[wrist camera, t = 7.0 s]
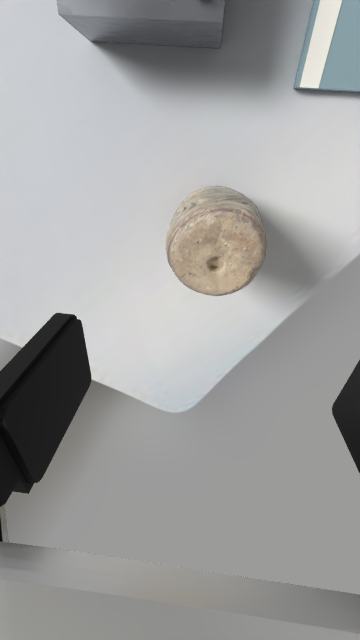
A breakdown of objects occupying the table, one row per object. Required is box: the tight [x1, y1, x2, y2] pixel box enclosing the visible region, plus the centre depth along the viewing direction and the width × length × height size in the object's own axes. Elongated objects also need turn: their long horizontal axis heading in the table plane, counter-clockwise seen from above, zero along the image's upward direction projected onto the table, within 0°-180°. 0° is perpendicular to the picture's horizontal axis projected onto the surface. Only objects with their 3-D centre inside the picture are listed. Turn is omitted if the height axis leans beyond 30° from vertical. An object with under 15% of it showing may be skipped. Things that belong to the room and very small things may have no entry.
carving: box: [166, 186, 266, 296], centre depth 21 cm, size 6×8×12 cm
